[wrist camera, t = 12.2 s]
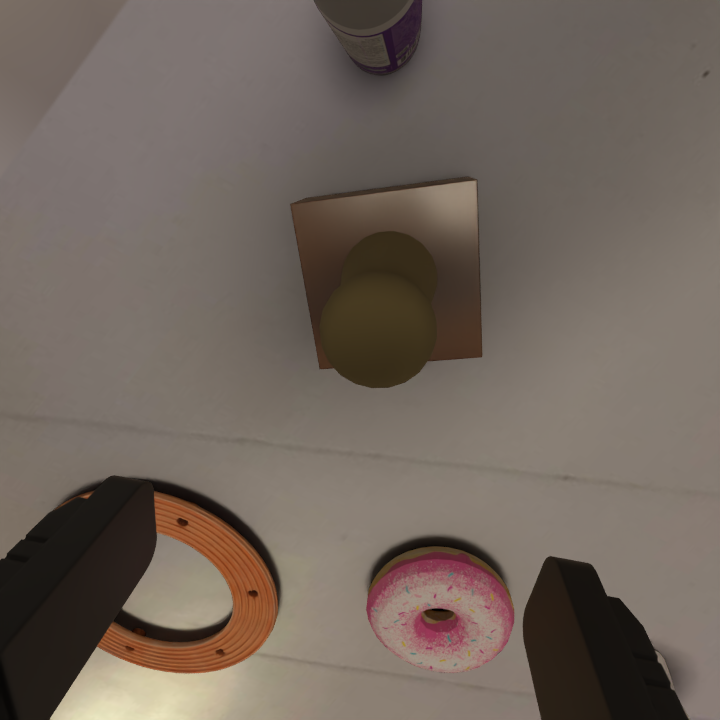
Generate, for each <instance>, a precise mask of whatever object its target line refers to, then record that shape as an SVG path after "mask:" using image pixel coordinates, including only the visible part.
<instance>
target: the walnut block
mask: <svg viewBox="0 0 720 720" xmlns="http://www.w3.org/2000/svg"><path fill="white" fill-rule="evenodd" d="M290 205H291V211H292V217H293V222H294V228H295V233H296V239H297V245H298V250H299V256H300V261H301V267H302V272H303V278H304V284H305V289H306V295H307V300H308V306H309V312H310V317H311V323H312V328H313V334H314V340H315V345H316V351H317V356H318V362H319V368H320V369H330V368H334V367H333V366H332V365H331V364H330V363H329V361H328V359H327V357H326V355H325V353H324V351H323V349H322V344H321V336H320V328H319V325H320V320H321V316H322V311H323V308H324V307H325V305H326V303H327V301H328V300H329V298H330V296H331V295H332V293H333V292H334V290H336V289H337V288H338V287H339V286H340V285H341V274H342V270H343V265H344V261H345V259H346V258H347V256H348V254H349V252H350V251H351V249H352V248H353V247H354V246H355V245H356V244H357V243H359V242H360V241H361V240H362V239H363V238H365V237H367V236H370V235H372V234H375V233H377V232H386V231H396V232H400V233H404V234H408V235H410V236H412V237H413V238H415V239H416V240H418V241H419V242H421V243H422V244H423V245H424V246H425V248H426V249H427V250H428V251H429V253H430V254H431V255H432V258H433V260H434V263H435V266H436V269H437V287H436V291H435V294H434V297H433V300H432V303H431V305H432V308H433V311H434V313H435V316H436V321H437V340H436V343H435V346H434V349H433V353H432V355H431V357H430V359H429V360H428V361H437V360H451V359H464V358H478V357H482V327H481V293H480V258H479V224H478V189H477V179H474V178H471V177H460V178H453V179H445V180H438V181H430V182H423V183H415V184H407V185H400V186H392V187H385V188H377V189H370V190H362V191H355V192H347V193H339V194H332V195H324V196H317V197H309V198H305V199H302V200H299V201H297V202H294V203H291V204H290Z"/></svg>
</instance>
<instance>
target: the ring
mask: <svg viewBox="0 0 720 720" xmlns="http://www.w3.org/2000/svg"><path fill="white" fill-rule="evenodd" d="M93 492H94V491H91V492H87V493H84V494H81V495H79V496H76V497H82V498H88V497H89V496H90V495H91V494H92V493H93ZM76 497H74V498H76ZM74 498H72V499H70V500H68V501H66V502H65V503H63V504H62V505H64V504H66V503H67V502H69V501H71V500H73V499H74ZM154 502H155V517H156V532H157V533H159V534H163V535H167V536H169V537H172V538H174V539H177V540H179V541H181V542H183V543H185V544H187V545H189V546H190V547H192V548H194V549H195V550H197V551H198V552H199V553H201V554H202V555H203V556H205V557H206V558H207V559H208V560H210V561H211V562H212V564H213V565H214V566H215V567H216V568H217V569H218V570H219V571H220V573H221V574H222V575H223V577H224V578H225V580H226V582H227V584H228V586H229V588H230V591H231V594H232V598H233V611H232V616H231V618H230V620H229V622H228V624H227V625H226V626H225V627H224V628H223V629H222V630H220V631H219V632H218V633H216V634H214V635H212V636H210V637H208V638H205V639H201V640H197V641H192V642H167V641H160V640H156V639H151V638H148V637H145V636H146V633H145V631H144V630H142V629H140V628H135V629H133V630H132V631H130V630H128V629H125V628H124V627H122V626H120V625H118V624H117V623H115V622H114V621H113V622H112V624H111V625H110V627H109V628H108V630H107V631H106V633H105V634H104V636H103V638H102V639H101V641H100V642H99V644H98V645H97V647H99V648H100V649H102V650H104V651H106V652H108V653H110V654H112V655H114V656H116V657H118V658H120V659H123V660H125V661H128V662H130V663H133V664H136V665H139V666H142V667H146V668H150V669H154V670H159V671H165V672H173V673H205V672H211V671H217V670H221V669H224V668H227V667H230V666H233V665H235V664H237V663H240V662H242V661H244V660H245V659H247V658H248V657H250V656H251V655H253V654H254V653H255V652H256V651H257V650H258V649H259V648H260V647H261V646H262V645H263V644H264V642H265V641H266V639H267V638H268V637H269V635H270V633H271V632H272V630H273V628H274V625H275V622H276V618H277V614H278V596H277V591H276V587H275V583H274V580H273V578H272V575H271V573H270V571H269V569H268V568H267V566H266V564H265V562H264V561H263V559H262V558H261V556H260V555H259V554H258V552H257V551H256V550H255V549H254V548H253V547H252V545H251V544H250V543H249V542H248V541H247V540H246V539H245V538H244V537H243V536H242V535H240V534H239V533H238V532H237V531H236V530H235V529H234V528H233V527H231V526H230V525H229V524H227V523H226V522H225V521H223V520H222V519H220V518H219V517H217V516H215V515H214V514H212V513H210V512H209V511H207V510H205V509H203V508H201V507H199V506H198V505H197V504H196V503H193V502H188V501H185V500H183V499H180V498H177V497H174V496H171V495H168V494H164V493H160V492H156V491H154ZM62 505H60V506H62ZM60 506H59V507H60ZM59 507H57V508H59ZM57 508H56V509H57Z"/></svg>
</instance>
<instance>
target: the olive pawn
mask: <svg viewBox="0 0 720 720" xmlns="http://www.w3.org/2000/svg"><path fill="white" fill-rule="evenodd" d="M436 287H437V269H436V266H435V263H434V260H433V258H432V255H431V254H430V253H429V251H428V250H427V249H426V248H425V246H424V245H423V244H422V243H421V242H419V241H418V240H416V239H415V238H413V237H412V236H410V235H408V234H404V233H400V232H396V231H386V232H377V233H375V234H372V235H370V236H367V237H365V238H363V239H362V240H361V241H360V242H359V243H357V244H356V245H355V246H354V247H353V248H352V249H351V251H350V252H349V254H348V256H347V258H346V259H345V261H344V265H343V270H342V274H341V285H340V286H339V287H338V288H337V289H336V290H334V292H333V293H332V295H331V296H330V298H329V300H328V301H327V303H326V305H325V307H324V308H323V311H322V316H321V320H320V325H319V328H320V336H321V344H322V349H323V351H324V353H325V355H326V357H327V359H328V361H329V363H330V364H331V365H332V366H333V367H334V368H335V369H336V371H337V372H338V373H339V374H340V375H341V376H343V377H345V378H347V379H348V380H350V381H352V382H353V383H355V384H358V385H362V386H366V387H370V388H389V387H392V386H395V385H398V384H401V383H405V382H406V381H408V380H409V379H411V378H412V377H414V376H415V375H416V374H418V373H419V372H420V371H421V369H422V368H423V367H424V365H425V364H426V363H427V361H428V360H429V359H430V357H431V355H432V353H433V349H434V346H435V343H436V340H437V321H436V316H435V313H434V311H433V308H432V305H431V303H432V300H433V297H434V294H435V291H436Z"/></svg>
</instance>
